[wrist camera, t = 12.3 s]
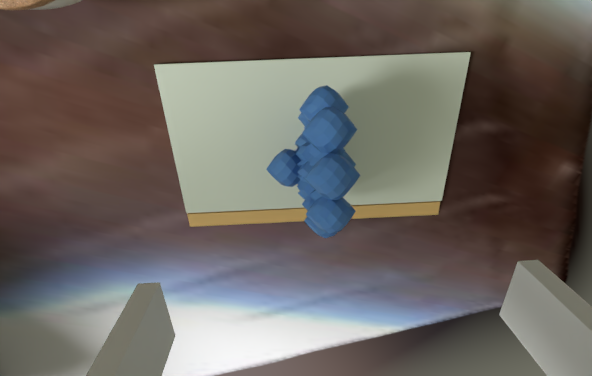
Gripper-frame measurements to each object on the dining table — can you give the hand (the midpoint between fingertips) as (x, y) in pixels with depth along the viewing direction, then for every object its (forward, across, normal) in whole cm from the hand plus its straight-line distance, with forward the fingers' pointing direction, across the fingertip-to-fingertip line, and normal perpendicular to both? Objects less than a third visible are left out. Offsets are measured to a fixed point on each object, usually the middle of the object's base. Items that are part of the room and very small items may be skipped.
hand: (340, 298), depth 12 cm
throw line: (+20, +1, -8) cm, 21 cm away
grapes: (+19, 0, 0) cm, 19 cm away
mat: (+20, +1, 0) cm, 20 cm away
